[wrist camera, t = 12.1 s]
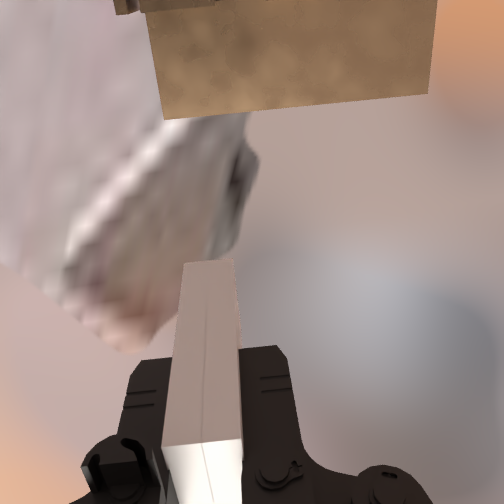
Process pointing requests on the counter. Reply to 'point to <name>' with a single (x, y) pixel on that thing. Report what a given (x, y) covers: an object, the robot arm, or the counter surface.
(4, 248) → the counter surface
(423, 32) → the brown board
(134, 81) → the counter surface
